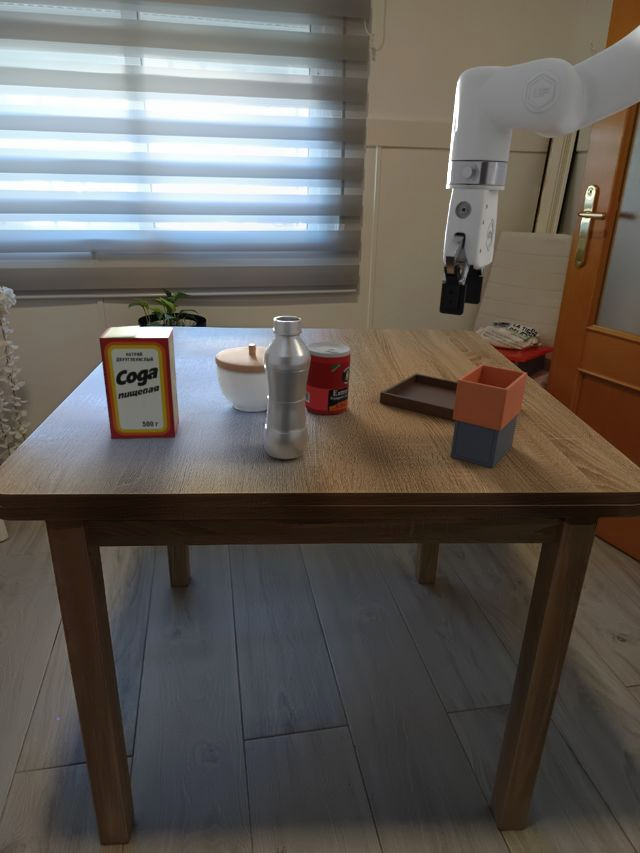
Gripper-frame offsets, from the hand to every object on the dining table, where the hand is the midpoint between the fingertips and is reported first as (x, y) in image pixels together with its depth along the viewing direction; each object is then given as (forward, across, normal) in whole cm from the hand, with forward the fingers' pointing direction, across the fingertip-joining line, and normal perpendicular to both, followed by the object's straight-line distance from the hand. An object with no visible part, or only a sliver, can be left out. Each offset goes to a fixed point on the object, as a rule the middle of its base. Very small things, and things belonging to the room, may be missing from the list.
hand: (460, 308), depth 82 cm
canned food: (+21, +4, +23) cm, 31 cm away
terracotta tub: (+15, 0, -6) cm, 16 cm away
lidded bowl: (+21, -2, +34) cm, 40 cm away
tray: (+21, +18, +5) cm, 28 cm away
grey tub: (+21, 0, -6) cm, 22 cm away
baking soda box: (+21, -20, +42) cm, 51 cm away
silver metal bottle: (+21, -17, +19) cm, 33 cm away
